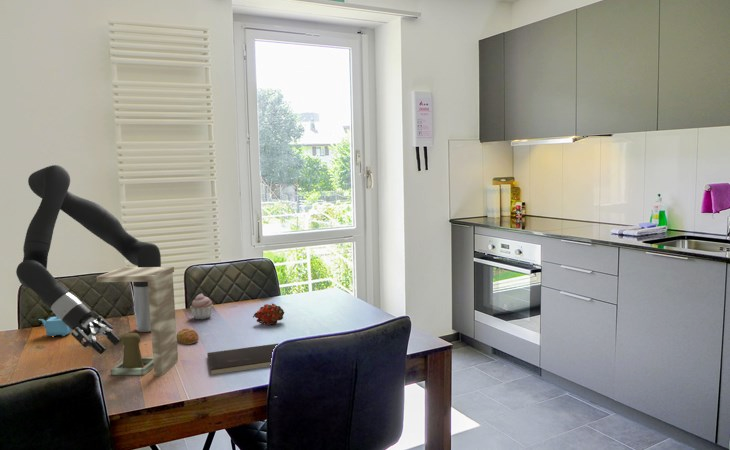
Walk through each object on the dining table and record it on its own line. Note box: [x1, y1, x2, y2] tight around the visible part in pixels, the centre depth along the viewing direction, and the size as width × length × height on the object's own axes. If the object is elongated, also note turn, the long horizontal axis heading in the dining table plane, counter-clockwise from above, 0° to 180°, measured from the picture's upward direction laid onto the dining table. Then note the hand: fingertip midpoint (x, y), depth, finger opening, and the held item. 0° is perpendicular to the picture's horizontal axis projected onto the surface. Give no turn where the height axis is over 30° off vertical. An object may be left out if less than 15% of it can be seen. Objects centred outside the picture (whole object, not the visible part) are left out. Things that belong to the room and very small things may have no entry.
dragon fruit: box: [252, 303, 285, 326], centre depth 210 cm, size 8×8×12 cm
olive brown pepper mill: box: [121, 332, 145, 368], centre depth 166 cm, size 6×6×11 cm
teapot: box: [38, 315, 73, 337], centre depth 202 cm, size 12×6×8 cm, turn 102°
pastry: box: [176, 328, 200, 345], centre depth 192 cm, size 9×7×4 cm
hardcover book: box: [207, 343, 280, 375], centre depth 171 cm, size 16×23×2 cm
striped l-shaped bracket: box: [96, 266, 179, 377], centre depth 165 cm, size 17×14×30 cm
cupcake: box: [189, 293, 214, 320], centre depth 221 cm, size 9×9×10 cm
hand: (111, 347), depth 167 cm, fingers open, 8 cm apart
